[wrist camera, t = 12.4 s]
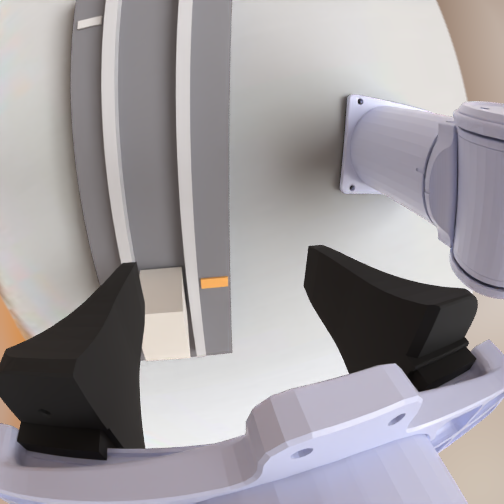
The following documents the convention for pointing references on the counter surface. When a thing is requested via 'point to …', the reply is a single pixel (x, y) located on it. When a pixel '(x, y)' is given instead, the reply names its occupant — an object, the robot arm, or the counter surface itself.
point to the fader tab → (164, 315)
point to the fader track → (157, 147)
